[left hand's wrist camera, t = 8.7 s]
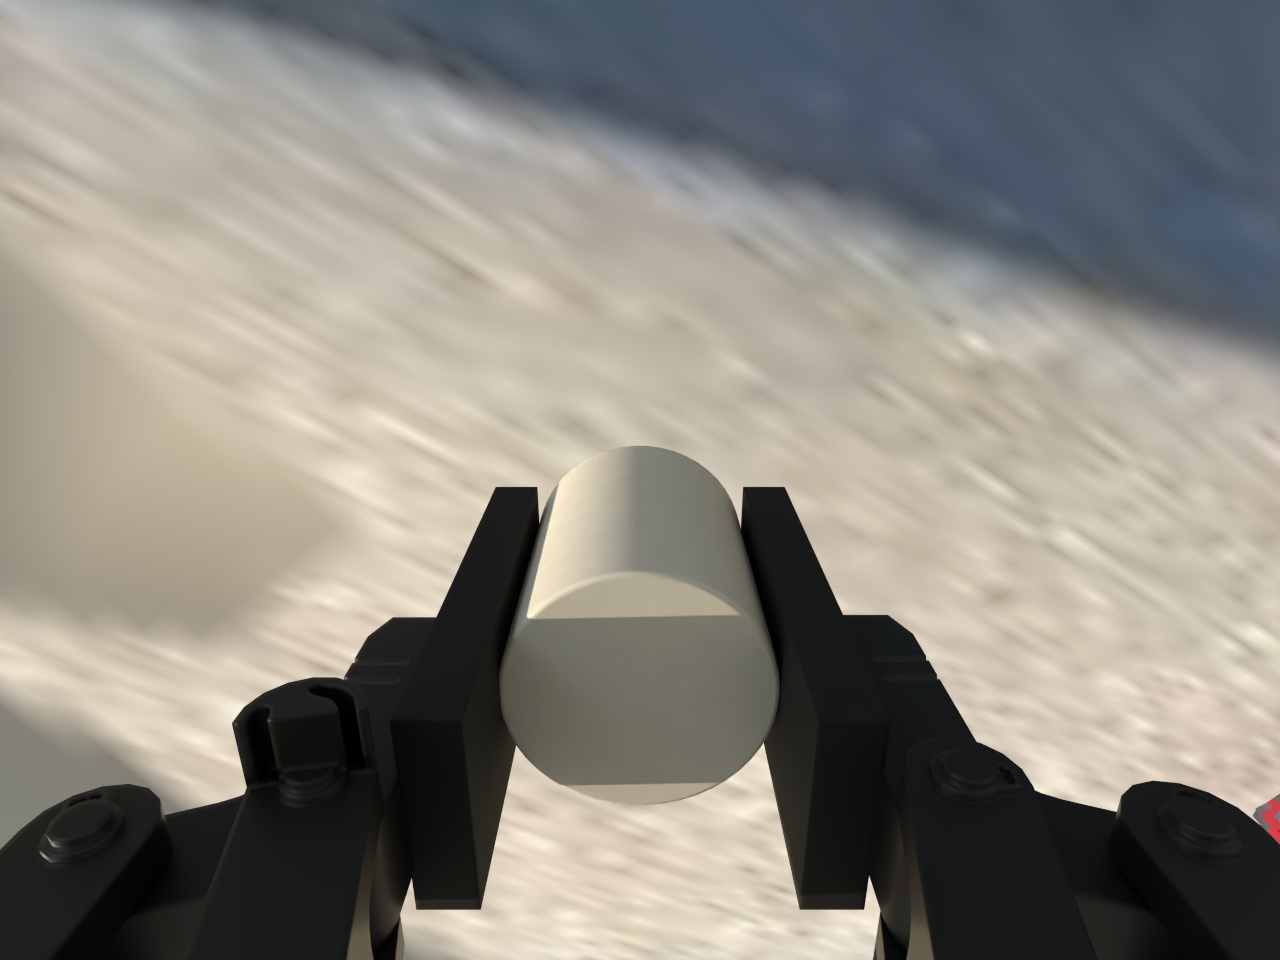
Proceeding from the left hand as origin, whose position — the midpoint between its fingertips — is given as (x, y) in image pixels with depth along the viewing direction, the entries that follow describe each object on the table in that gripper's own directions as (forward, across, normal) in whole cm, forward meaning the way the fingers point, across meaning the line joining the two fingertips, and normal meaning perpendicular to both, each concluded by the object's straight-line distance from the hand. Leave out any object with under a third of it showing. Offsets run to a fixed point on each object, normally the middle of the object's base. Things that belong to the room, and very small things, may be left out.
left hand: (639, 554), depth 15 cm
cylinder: (0, 0, 0) cm, 0 cm away
